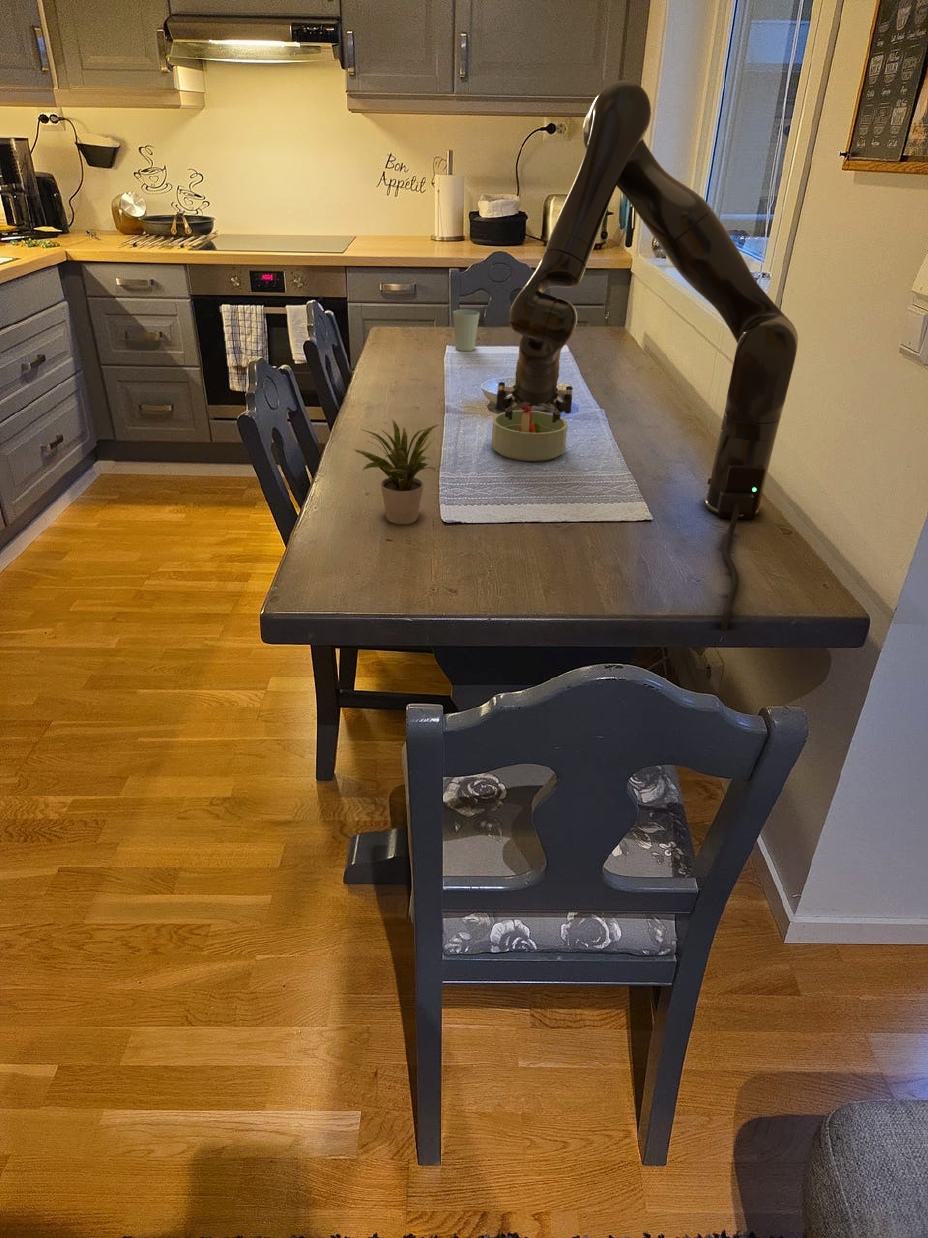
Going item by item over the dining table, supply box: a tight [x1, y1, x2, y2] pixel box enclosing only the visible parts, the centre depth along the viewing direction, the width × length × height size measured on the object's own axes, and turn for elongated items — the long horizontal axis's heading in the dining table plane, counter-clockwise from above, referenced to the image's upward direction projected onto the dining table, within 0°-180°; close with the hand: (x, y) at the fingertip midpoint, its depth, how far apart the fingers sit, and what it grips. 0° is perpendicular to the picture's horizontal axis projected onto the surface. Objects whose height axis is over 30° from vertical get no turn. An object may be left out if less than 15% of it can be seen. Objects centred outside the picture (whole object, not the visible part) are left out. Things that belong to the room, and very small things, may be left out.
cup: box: [452, 309, 480, 352], centre depth 245 cm, size 8×8×10 cm
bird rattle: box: [517, 406, 543, 433], centre depth 171 cm, size 6×11×9 cm
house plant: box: [354, 419, 440, 525], centre depth 139 cm, size 14×14×16 cm
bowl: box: [490, 409, 568, 462], centre depth 172 cm, size 15×15×6 cm
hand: (532, 416), depth 163 cm, fingers open, 8 cm apart
